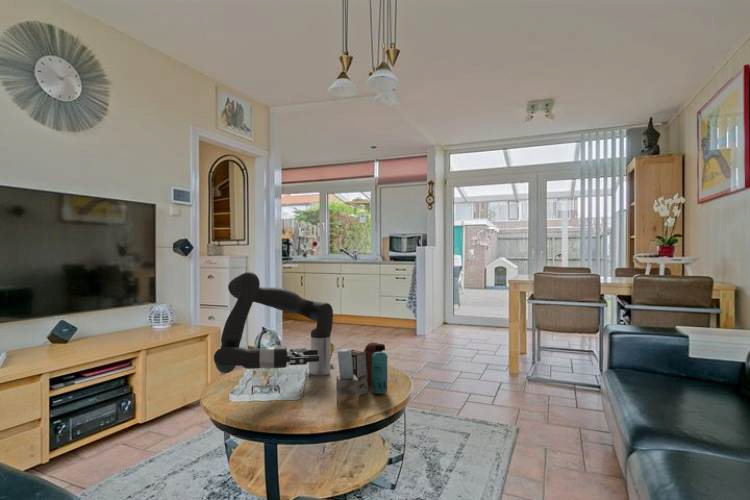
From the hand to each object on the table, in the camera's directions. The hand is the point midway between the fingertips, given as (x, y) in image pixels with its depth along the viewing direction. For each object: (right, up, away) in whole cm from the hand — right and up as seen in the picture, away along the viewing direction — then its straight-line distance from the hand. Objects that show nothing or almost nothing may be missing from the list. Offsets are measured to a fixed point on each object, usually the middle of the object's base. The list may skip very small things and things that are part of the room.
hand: (318, 355), depth 153 cm
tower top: (+11, -14, +2) cm, 17 cm away
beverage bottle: (+23, -19, +13) cm, 32 cm away
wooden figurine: (+20, -19, +25) cm, 37 cm away
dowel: (+10, -9, +2) cm, 14 cm away
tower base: (+11, -19, +1) cm, 22 cm away
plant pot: (-5, -19, +59) cm, 62 cm away
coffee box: (+13, -19, +16) cm, 28 cm away
